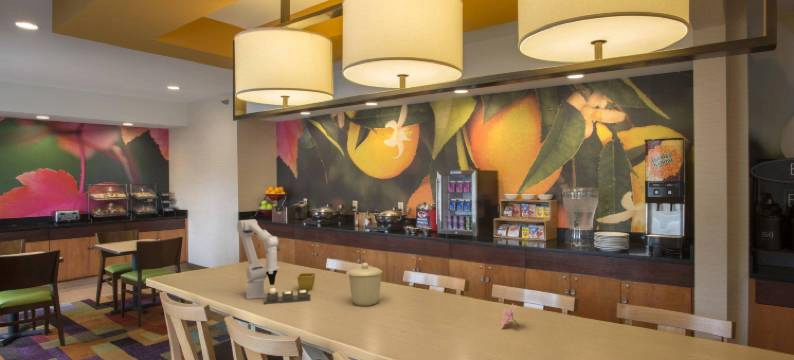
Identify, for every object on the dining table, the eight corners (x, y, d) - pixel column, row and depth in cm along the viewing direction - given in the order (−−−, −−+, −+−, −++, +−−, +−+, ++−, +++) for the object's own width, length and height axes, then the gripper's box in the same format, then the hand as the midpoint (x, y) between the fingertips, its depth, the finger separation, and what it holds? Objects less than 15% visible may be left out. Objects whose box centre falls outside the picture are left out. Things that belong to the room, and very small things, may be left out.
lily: (506, 322, 204) (495, 304, 203) (530, 315, 198) (519, 297, 197) (500, 339, 194) (489, 320, 193) (525, 332, 188) (514, 313, 187)
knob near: (268, 295, 242) (268, 289, 242) (269, 294, 246) (269, 287, 246) (275, 295, 243) (275, 288, 243) (276, 293, 247) (275, 287, 247)
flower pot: (312, 291, 263) (312, 276, 263) (297, 292, 263) (297, 276, 263) (315, 288, 272) (315, 273, 272) (301, 288, 272) (300, 273, 272)
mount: (264, 304, 239) (263, 296, 239) (265, 299, 249) (265, 292, 249) (310, 300, 243) (310, 293, 243) (310, 296, 253) (310, 288, 253)
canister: (341, 306, 232) (340, 264, 232) (360, 297, 248) (359, 258, 248) (371, 310, 224) (370, 267, 224) (389, 300, 240) (388, 260, 240)
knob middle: (284, 299, 244) (284, 292, 244) (284, 297, 247) (284, 291, 247) (291, 298, 245) (291, 292, 245) (291, 296, 248) (291, 290, 248)
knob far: (299, 298, 245) (299, 291, 245) (299, 296, 249) (299, 290, 249) (306, 297, 246) (306, 291, 246) (306, 295, 250) (306, 289, 250)
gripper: (278, 261, 238) (279, 287, 238) (280, 256, 252) (280, 281, 252) (264, 262, 237) (265, 288, 237) (266, 257, 251) (267, 282, 251)
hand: (272, 284), depth 244 cm, fingers closed
